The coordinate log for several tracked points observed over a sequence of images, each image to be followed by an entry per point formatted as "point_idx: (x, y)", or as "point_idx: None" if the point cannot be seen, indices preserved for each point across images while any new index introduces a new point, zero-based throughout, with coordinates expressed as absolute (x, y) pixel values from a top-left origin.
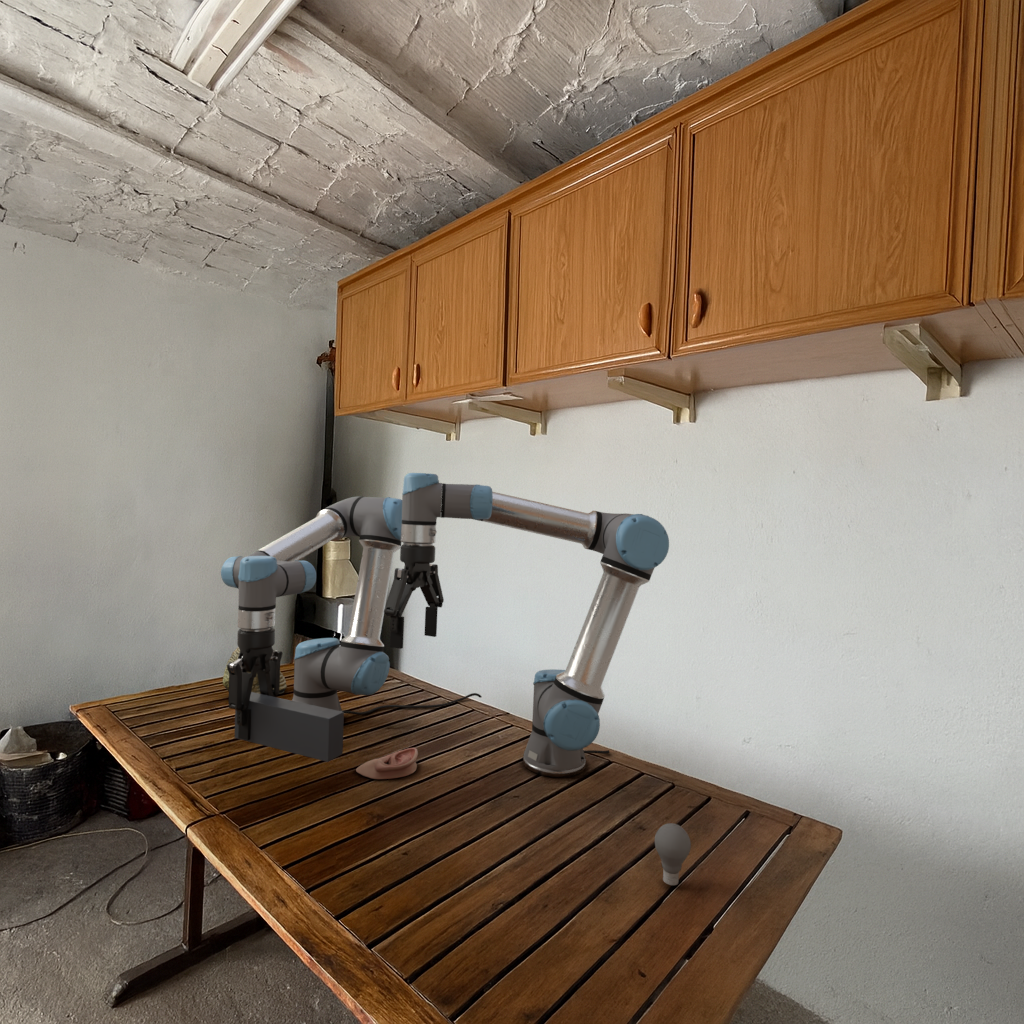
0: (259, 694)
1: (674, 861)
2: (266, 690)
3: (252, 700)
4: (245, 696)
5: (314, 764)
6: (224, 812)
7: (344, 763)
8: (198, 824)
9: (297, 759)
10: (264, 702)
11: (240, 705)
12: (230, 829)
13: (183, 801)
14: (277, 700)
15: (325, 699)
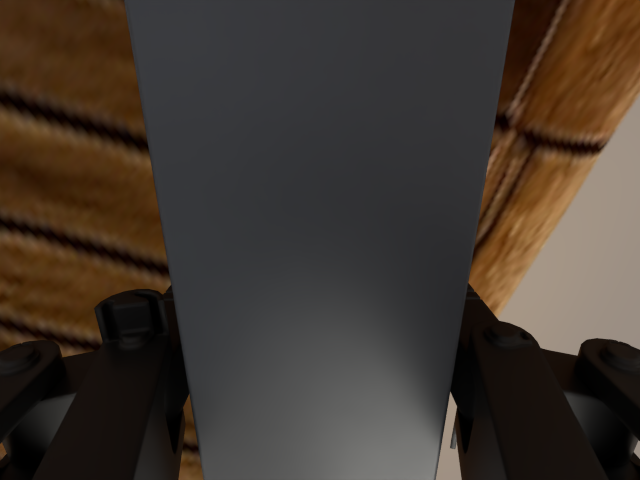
0: (223, 448)
1: None
2: (152, 439)
3: (428, 375)
4: (585, 455)
5: (91, 120)
6: (501, 120)
7: (4, 19)
8: (588, 129)
9: (105, 202)
10: (426, 200)
11: (618, 369)
12: (592, 7)
13: (484, 272)
14: (257, 89)
15: None
